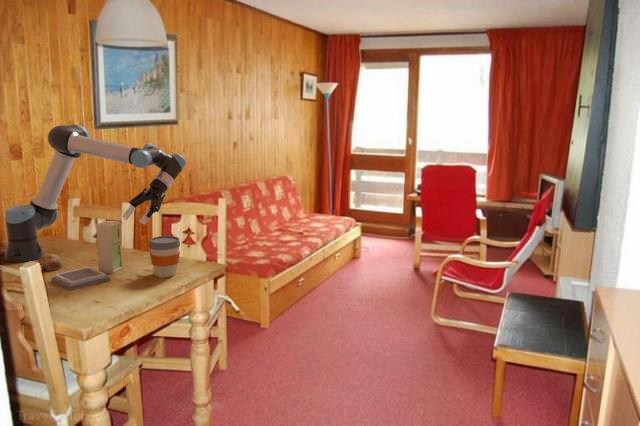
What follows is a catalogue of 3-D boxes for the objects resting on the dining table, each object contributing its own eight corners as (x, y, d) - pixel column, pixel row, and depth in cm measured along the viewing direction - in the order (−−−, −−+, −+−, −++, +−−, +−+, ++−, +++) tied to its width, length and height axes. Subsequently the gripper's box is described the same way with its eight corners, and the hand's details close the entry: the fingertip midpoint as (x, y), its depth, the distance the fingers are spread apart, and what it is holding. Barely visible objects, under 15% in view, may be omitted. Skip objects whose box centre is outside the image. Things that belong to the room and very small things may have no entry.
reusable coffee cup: (186, 274, 215) (185, 240, 212) (157, 280, 206) (156, 245, 203) (173, 267, 224) (171, 234, 221) (145, 272, 216) (143, 238, 213)
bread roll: (63, 277, 218) (70, 259, 219) (38, 272, 211) (46, 254, 212) (54, 272, 225) (61, 255, 226) (30, 267, 217) (37, 249, 218)
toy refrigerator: (114, 274, 213) (111, 225, 209) (98, 272, 214) (95, 224, 210) (125, 268, 221) (122, 221, 216) (109, 267, 222) (107, 220, 218)
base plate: (51, 280, 203) (50, 274, 202) (90, 271, 215) (89, 265, 215) (70, 290, 193) (69, 283, 193) (110, 280, 205) (109, 273, 205)
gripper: (183, 191, 225) (155, 230, 217) (151, 185, 240) (123, 221, 232) (172, 180, 220) (143, 219, 211) (140, 175, 235) (111, 211, 227)
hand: (132, 220), depth 222 cm, fingers open, 13 cm apart
